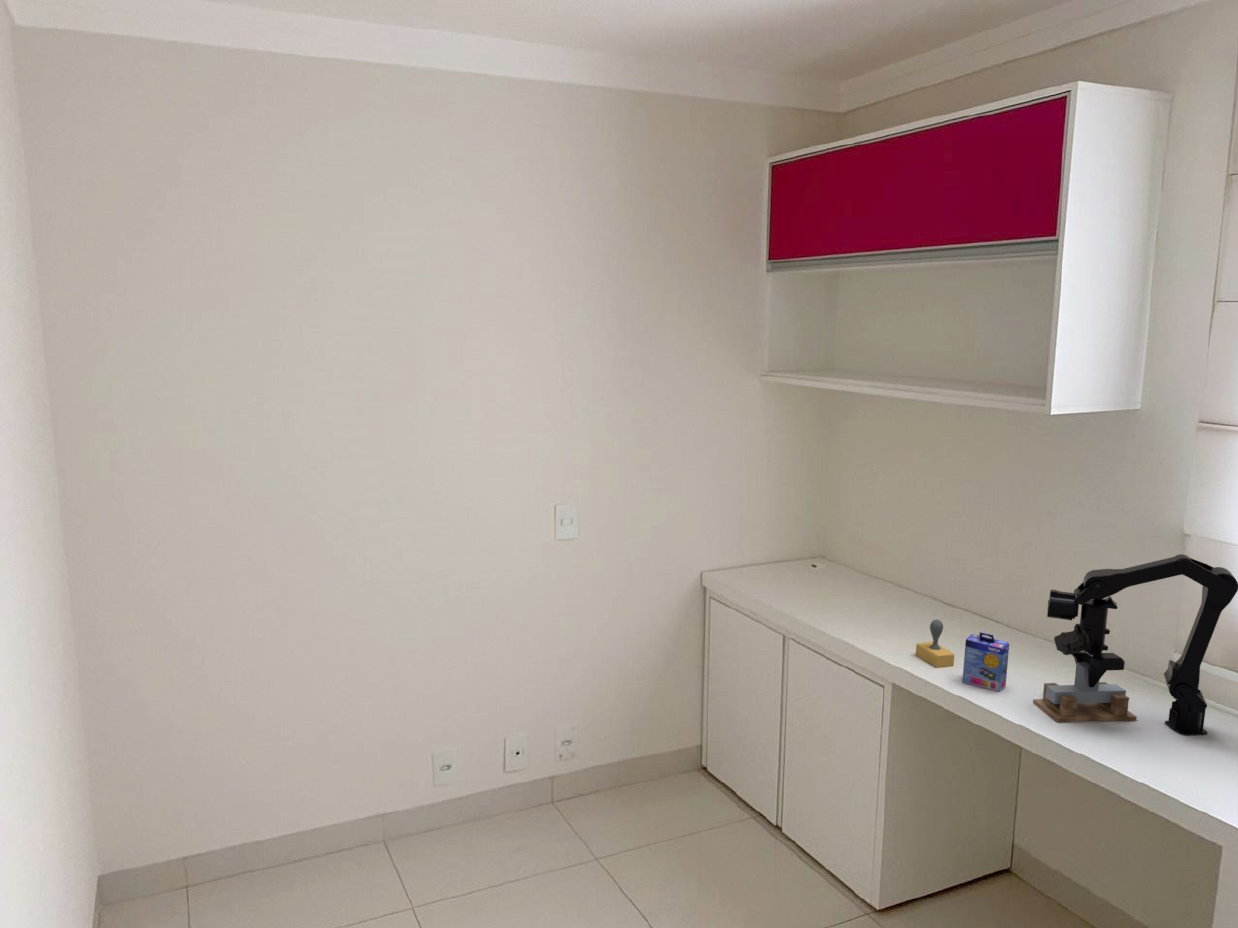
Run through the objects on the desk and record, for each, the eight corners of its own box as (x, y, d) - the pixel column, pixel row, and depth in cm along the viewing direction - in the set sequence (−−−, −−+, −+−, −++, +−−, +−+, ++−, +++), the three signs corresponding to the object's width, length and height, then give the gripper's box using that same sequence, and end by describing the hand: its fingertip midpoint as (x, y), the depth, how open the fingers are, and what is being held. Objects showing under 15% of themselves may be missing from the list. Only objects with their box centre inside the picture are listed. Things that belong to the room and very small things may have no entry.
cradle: (1108, 701, 234) (1111, 680, 233) (1136, 720, 223) (1138, 698, 222) (1032, 702, 232) (1034, 682, 231) (1057, 722, 221) (1059, 700, 220)
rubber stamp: (914, 655, 263) (917, 614, 261) (932, 653, 265) (935, 613, 263) (936, 668, 254) (939, 626, 252) (954, 666, 255) (957, 624, 253)
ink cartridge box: (960, 682, 244) (965, 630, 242) (968, 676, 248) (972, 624, 246) (999, 692, 238) (1004, 639, 236) (1006, 686, 242) (1011, 633, 240)
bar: (1114, 695, 230) (1118, 660, 228) (1124, 702, 226) (1128, 667, 224) (1045, 696, 228) (1048, 662, 227) (1054, 703, 224) (1057, 668, 223)
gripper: (1040, 610, 232) (1035, 669, 235) (1083, 636, 214) (1077, 700, 216) (1083, 610, 233) (1077, 668, 236) (1129, 636, 215) (1122, 699, 217)
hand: (1086, 683), depth 226 cm, fingers closed on bar, 3 cm apart
